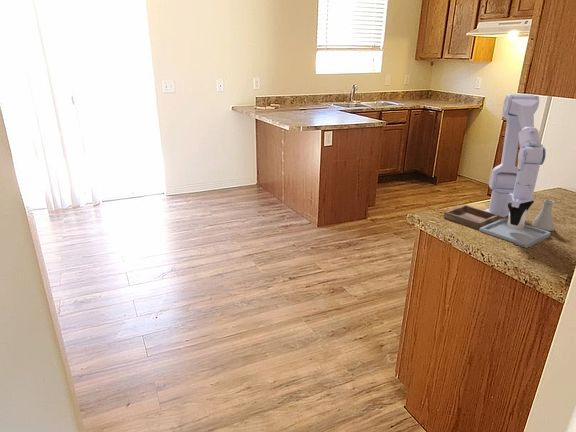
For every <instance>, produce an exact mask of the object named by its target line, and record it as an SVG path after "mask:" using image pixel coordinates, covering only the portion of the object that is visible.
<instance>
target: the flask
mask: <svg viewBox="0 0 576 432" xmlns="http://www.w3.org/2000/svg"><path fill="white" fill-rule="evenodd" d="M554 204H555V201H554V200H551V199H544V200H543V206H542V208H541V210H540V211H539V213H538V214H537V215H536V217H535V218H534V220H533V221H532V223H531V226H532V227H535V228H538V229H541V230H545V231H548V232H554V231H555V228H554V220H553V213H552V212H553V205H554Z"/></svg>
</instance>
